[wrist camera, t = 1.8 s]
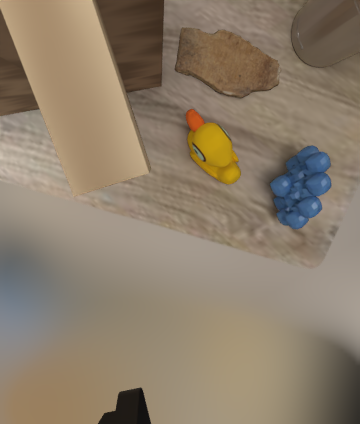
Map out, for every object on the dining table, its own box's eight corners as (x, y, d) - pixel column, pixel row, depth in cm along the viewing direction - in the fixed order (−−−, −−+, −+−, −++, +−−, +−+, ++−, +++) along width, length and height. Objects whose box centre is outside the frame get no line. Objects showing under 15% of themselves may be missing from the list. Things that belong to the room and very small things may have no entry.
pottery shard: (188, 13, 43) (190, 7, 41) (285, 65, 45) (290, 62, 43) (165, 67, 44) (165, 64, 42) (261, 116, 46) (264, 114, 45)
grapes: (264, 141, 47) (299, 138, 35) (306, 148, 47) (355, 148, 36) (248, 215, 49) (277, 236, 37) (289, 221, 49) (330, 244, 38)
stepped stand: (145, 0, 42) (103, -440, 10) (161, 86, 44) (165, -67, 13) (-32, 32, 41) (-639, -335, 10) (-7, 117, 43) (-432, 37, 12)
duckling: (168, 128, 45) (171, 123, 36) (197, 105, 45) (208, 93, 35) (214, 189, 48) (228, 199, 38) (241, 167, 47) (263, 172, 37)
